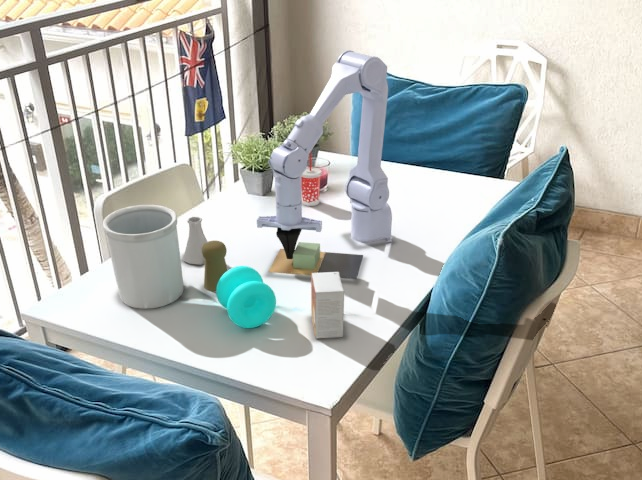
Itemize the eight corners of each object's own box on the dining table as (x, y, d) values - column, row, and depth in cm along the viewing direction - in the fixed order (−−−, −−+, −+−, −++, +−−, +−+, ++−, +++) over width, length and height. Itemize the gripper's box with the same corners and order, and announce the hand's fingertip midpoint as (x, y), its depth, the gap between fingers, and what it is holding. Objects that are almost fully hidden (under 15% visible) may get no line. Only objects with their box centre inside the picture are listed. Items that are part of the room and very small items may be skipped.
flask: (219, 255, 167) (216, 216, 161) (203, 267, 161) (199, 228, 156) (194, 249, 169) (189, 211, 164) (177, 262, 164) (172, 222, 158)
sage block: (293, 268, 158) (292, 254, 156) (299, 255, 164) (298, 241, 162) (314, 269, 157) (314, 255, 156) (320, 257, 163) (319, 243, 161)
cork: (226, 297, 150) (222, 250, 144) (200, 294, 151) (194, 248, 145) (235, 283, 155) (231, 238, 149) (209, 281, 156) (204, 236, 150)
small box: (311, 318, 142) (310, 272, 136) (338, 316, 142) (339, 270, 137) (314, 339, 135) (314, 292, 130) (343, 337, 136) (344, 290, 130)
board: (268, 275, 157) (268, 271, 157) (280, 252, 167) (280, 248, 167) (356, 283, 154) (356, 279, 154) (363, 258, 164) (363, 254, 163)
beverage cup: (308, 196, 197) (307, 147, 189) (326, 201, 194) (326, 152, 186) (295, 203, 192) (294, 154, 185) (313, 208, 189) (312, 158, 182)
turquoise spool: (231, 335, 137) (227, 291, 131) (216, 311, 144) (212, 268, 139) (279, 324, 140) (277, 280, 135) (261, 301, 148) (259, 259, 142)
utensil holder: (156, 317, 143) (144, 239, 133) (101, 300, 149) (86, 224, 139) (199, 286, 154) (191, 212, 144) (147, 271, 160) (135, 199, 150)
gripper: (252, 206, 151) (255, 262, 159) (317, 210, 149) (318, 267, 156) (260, 194, 157) (263, 249, 164) (323, 198, 155) (323, 253, 162)
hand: (290, 257), depth 161 cm, fingers closed
